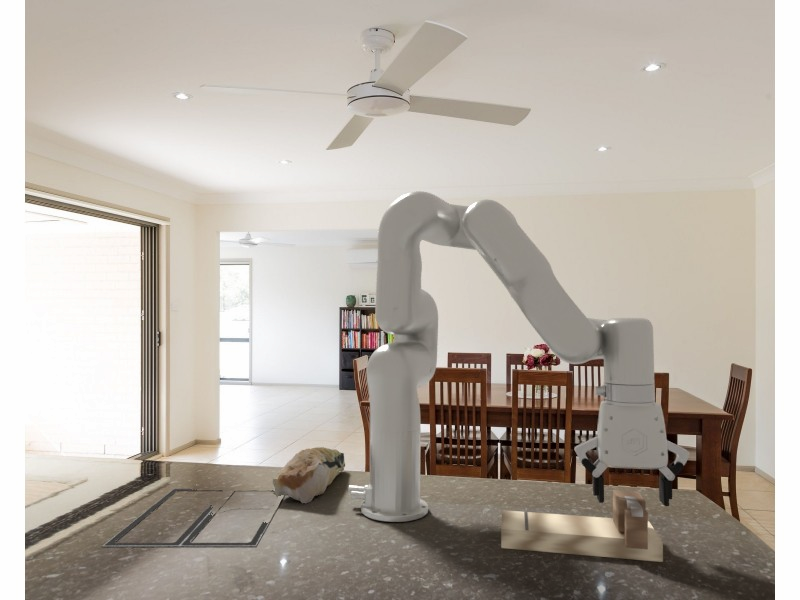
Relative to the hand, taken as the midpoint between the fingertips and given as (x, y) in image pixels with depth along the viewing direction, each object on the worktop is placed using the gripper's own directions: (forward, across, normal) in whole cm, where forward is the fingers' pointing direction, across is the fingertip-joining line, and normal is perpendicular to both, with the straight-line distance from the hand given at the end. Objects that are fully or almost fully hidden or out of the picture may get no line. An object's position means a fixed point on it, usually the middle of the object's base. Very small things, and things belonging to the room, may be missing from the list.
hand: (632, 501), depth 91 cm
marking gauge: (+5, -1, -2) cm, 5 cm away
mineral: (+6, -60, +21) cm, 64 cm away
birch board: (+7, -9, 0) cm, 11 cm away
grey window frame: (+6, -74, 0) cm, 74 cm away
